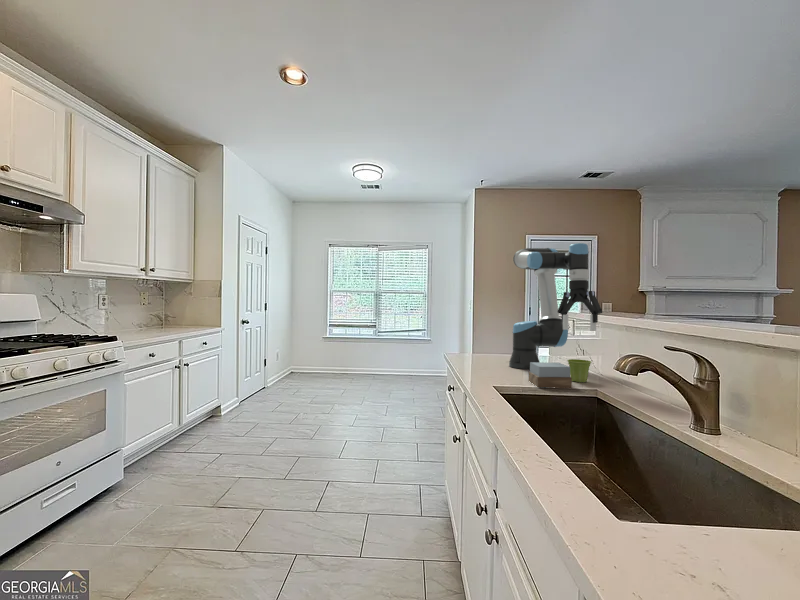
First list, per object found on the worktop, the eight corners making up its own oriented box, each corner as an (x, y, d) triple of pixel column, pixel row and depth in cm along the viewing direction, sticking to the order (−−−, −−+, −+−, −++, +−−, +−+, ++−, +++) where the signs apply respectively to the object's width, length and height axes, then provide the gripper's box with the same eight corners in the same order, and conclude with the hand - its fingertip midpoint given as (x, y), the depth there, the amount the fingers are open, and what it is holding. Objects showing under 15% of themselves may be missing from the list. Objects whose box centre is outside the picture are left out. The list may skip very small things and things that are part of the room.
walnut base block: (528, 382, 174) (528, 371, 174) (559, 382, 173) (559, 372, 173) (537, 388, 161) (537, 377, 161) (571, 389, 160) (571, 377, 160)
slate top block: (529, 371, 173) (529, 362, 173) (558, 372, 173) (558, 362, 173) (539, 377, 161) (539, 366, 161) (570, 377, 161) (570, 366, 161)
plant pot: (586, 379, 179) (586, 359, 179) (594, 383, 169) (594, 362, 169) (564, 378, 180) (564, 358, 180) (571, 383, 170) (571, 362, 170)
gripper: (549, 281, 185) (549, 329, 184) (599, 277, 163) (599, 331, 162) (560, 282, 189) (560, 329, 188) (611, 278, 167) (611, 331, 166)
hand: (578, 330), depth 175 cm, fingers open, 13 cm apart
